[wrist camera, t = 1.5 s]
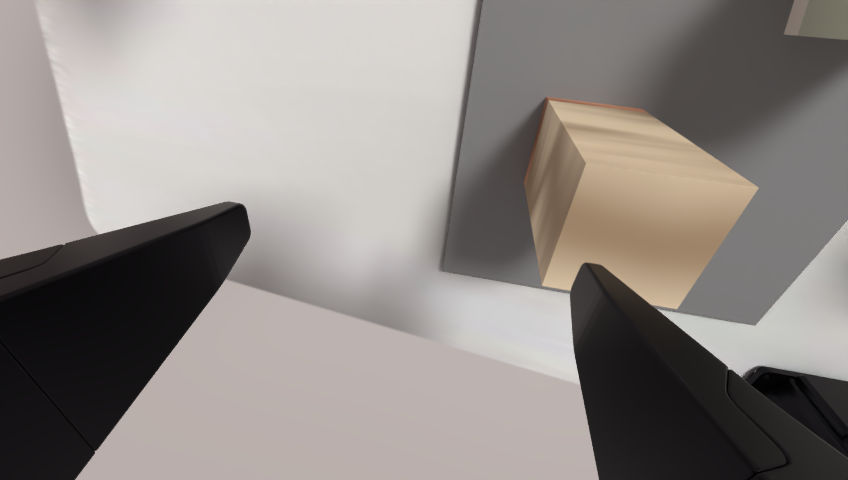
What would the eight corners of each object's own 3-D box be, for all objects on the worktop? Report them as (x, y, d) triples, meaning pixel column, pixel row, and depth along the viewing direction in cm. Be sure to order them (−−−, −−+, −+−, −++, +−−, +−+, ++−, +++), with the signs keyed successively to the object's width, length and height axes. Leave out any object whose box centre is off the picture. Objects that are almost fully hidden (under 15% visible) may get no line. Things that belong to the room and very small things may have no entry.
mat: (749, 318, 23) (755, 325, 22) (443, 265, 25) (442, 271, 24) (1109, -106, 12) (1136, -111, 11) (505, -147, 14) (505, -153, 13)
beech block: (606, 193, 19) (676, 309, 12) (523, 181, 20) (541, 285, 12) (642, 108, 17) (758, 187, 9) (546, 96, 17) (586, 163, 10)
